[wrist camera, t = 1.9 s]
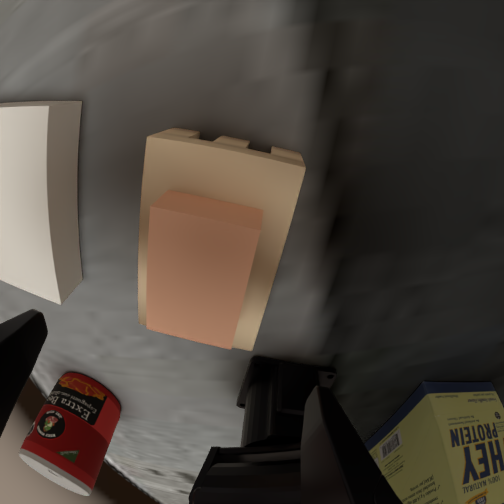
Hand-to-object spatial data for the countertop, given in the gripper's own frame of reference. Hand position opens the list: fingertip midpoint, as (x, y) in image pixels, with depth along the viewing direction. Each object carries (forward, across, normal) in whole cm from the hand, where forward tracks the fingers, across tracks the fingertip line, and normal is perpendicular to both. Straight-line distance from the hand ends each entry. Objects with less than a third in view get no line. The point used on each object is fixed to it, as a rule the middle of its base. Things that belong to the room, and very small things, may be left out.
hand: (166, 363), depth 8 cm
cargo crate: (+6, 0, 0) cm, 6 cm away
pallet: (+10, 0, 0) cm, 10 cm away
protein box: (+10, -24, +17) cm, 31 cm away
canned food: (+10, +11, +22) cm, 26 cm away
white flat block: (+9, +14, 0) cm, 17 cm away
